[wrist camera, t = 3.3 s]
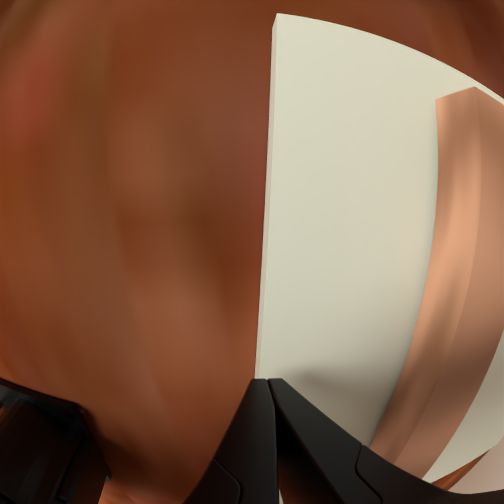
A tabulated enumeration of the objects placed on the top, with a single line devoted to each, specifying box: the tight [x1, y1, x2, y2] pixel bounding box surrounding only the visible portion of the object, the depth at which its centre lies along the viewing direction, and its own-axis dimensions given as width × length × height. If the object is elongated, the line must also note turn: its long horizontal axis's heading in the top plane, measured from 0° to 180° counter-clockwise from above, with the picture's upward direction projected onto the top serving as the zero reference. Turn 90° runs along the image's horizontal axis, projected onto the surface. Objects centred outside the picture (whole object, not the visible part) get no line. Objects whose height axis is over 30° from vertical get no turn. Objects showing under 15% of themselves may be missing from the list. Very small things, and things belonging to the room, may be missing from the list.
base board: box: [255, 13, 504, 504], centre depth 11 cm, size 25×26×1 cm
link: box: [369, 86, 504, 479], centre depth 8 cm, size 22×4×2 cm, turn 178°
